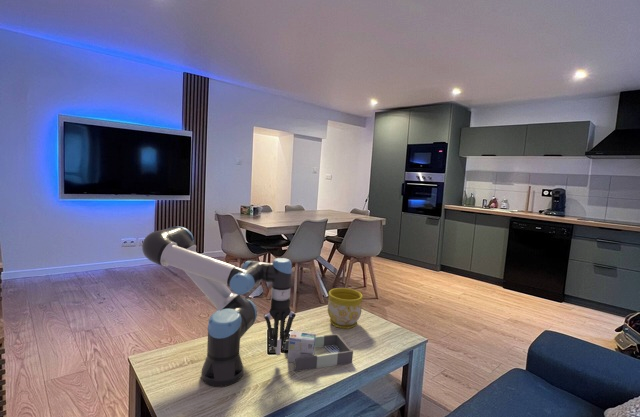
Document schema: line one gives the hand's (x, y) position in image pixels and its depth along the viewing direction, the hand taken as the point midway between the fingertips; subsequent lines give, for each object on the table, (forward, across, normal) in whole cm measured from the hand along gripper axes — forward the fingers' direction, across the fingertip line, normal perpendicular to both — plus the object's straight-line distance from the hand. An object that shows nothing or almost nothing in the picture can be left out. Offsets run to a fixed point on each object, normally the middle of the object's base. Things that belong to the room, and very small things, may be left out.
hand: (277, 353), depth 135 cm
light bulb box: (+4, +10, 0) cm, 11 cm away
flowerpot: (+5, +42, +27) cm, 50 cm away
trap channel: (+4, +18, 0) cm, 18 cm away
